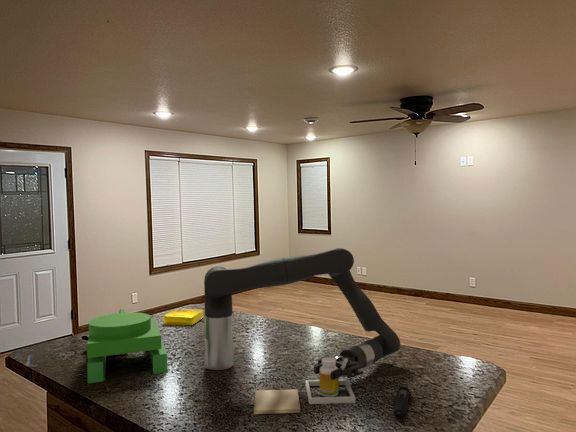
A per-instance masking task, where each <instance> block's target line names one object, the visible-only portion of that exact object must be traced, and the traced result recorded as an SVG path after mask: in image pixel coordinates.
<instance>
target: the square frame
mask: <svg viewBox="0 0 576 432" xmlns="http://www.w3.org/2000/svg"><path fill="white" fill-rule="evenodd" d="M304 382H305V383H304V385H305V389H306V395H307V400H308V405H318V404H319V405H321V404H322V405H324V404H325V405H327V404H355V403H356V395H355V394H354V392H353V389H352V387H351V385H350V383H349V380H348V378H345V379H344V378H341V379H339V386H345V389H346V391H347V393H348V396H334V397H325V396H321V397H320V396H319V397H317V396H316V397H312V393H311V388H310V387H316V386H317V387H318V386H319V387H320V379H308V380H307V379H305V381H304Z"/></svg>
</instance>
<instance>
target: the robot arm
mask: <svg viewBox="0 0 576 432" xmlns="http://www.w3.org/2000/svg"><path fill="white" fill-rule="evenodd" d="M354 261H355V259H354V256H353V254H352V252H351V251H350V250H348V249H345V248H342V247H341V248H340V247H337V248H333V249H329V250H325V251H323V252H318V253H313V254H306V255H295V256H286V257H279V258H273V259H272V258H271V259H268V260H267V259H266V260H264V261H262V262H258V263H256V264H253V265H250V266H245V267H241V268H228V269H227V268H225V267H224V266H219V265H218V266H212V267H211V268H209V269H208V270H207V272H206V273H205V276H204V280H203V285H204V287H203V288H204V340H203V352H204V353H203V355H204V357H203V358H204V360H203V361H204V366H203V367H204V369H205V370H210V371H211V370H212V371H225V370H227V369H230V368H232V367H233V366H234V334H233V333H234V330H233V328H234V325H233V323H234V321H233V320H234V319H233V317H234V316H233V297H232V296H233V294H235V293H239V292H242V291H246V290H247V291H248V290H252V289H253V290H254V289H255V290H256V289H263V288H264V289H265V288H271V287H272V288H273V287H280V286H286V285H291V284H294V283H298V282H301V281H303V280H307V279H310V278H312V277H315V276H320V275H328V276H329V277H330V278H331V280H332V281H333V282H334V283H335V284H336V286H337V287H338V289H339V290H340V291H341V293H342V294H343V295H344V297H345V299H346V301H347V303H349V306H350V307H351V309H352V311H353V312H354V314H355V316H356V318H357V319H358V321H359V324H360V325H361V327H362V328H363V330H364V331H365V332H366V333H367V332H375V333H377V334H378V335H377V336H374V337H372V338H370V339H368V340H364V341H363V342H359V343H355V344H353V345H351V346H349V347H347V348H344V349H342V350H341V351H340V353H339V355H337V356H334V357H332V358H334V359H335V360H336V365H335V366H336V367H337V368H338V369H336V370H334V371H332V372H331V379H332V380H335V379H337V378H345V377H346V379H352V378H355V377H357V376H361V375H363V374H364V369H366V368H369V366H370V365H373V364H374V363H376V362H378V361H379V360H380V359H382V358H385V357H388V356H390V355H392V354H393V355H394V354H395V353H397V352H398V351H400V348H401V340H400V337H399V336H398V334H397V332H395V331H394V330H393V328H391V326H389V325H388V323H386V322H385V321H384V319H383V318H382V317H381V315H380V314H379V312H378V310H377V308H376V307H375V305H374V304H373V302H372V300H371V299H370V298H369V297H368V295H367V294H366V293H365V292H364V291H363V290H362V288H361V287H360V286H359V285H358V283H357V282H356V281H355V278H354V277H353V275H352V273H351V270H352V268H353V267H354V263H355V262H354ZM327 357H330V355H329V354H324V355H323V356H321V357H320V358H318V359H317V365H314V366H313V372H314V375H320V367H321V366H323V365H322V359H323V358H327Z"/></svg>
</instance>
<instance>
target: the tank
mask: <svg viewBox="0 0 576 432" xmlns="http://www.w3.org/2000/svg"><path fill="white" fill-rule="evenodd" d="M86 346H87V347H86V351H87V352H86V355H87V356H86V357H87V359H88V360H87V362H86V363H87V364H86V365H87V368H86V369H87V384H95V383H100V382H101V383H102V382H104V381H106V370H107V369H106V368H107V367H106V364H107V357H108V356H114V355H123V354H132V353H139V352H147V351H148V353H149V357H150V360H151V364H152V375H156V374H164V373H168V372H169V367H168V353H167V350H166V347H165V344H164V339H162V334H161V331H160V328H159V325H158V322H157V319H156V317H151V315H150V314H147V313H144V312H125V310H124V309H123V308H120V309H119V311H118V313H110V314H105V315H102V316H98V317H94V318H93V319H90V320H89V321H88V339H87V343H86Z"/></svg>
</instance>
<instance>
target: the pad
mask: <svg viewBox="0 0 576 432" xmlns="http://www.w3.org/2000/svg"><path fill="white" fill-rule="evenodd" d="M254 392H255V393H254V402H253V403H254V407H253V415H260V414H261V415H265V414H267V415H268V414H295V413H296V414H299V413H301V405H300V398H299V392H298V388H297V389H265V390H264V389H263V390H261V389H260V390H255V391H254Z"/></svg>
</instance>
